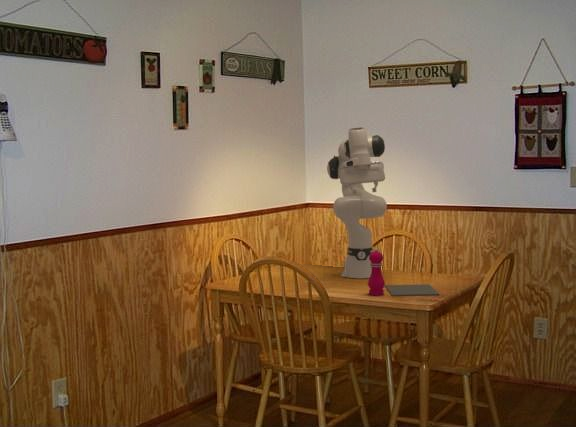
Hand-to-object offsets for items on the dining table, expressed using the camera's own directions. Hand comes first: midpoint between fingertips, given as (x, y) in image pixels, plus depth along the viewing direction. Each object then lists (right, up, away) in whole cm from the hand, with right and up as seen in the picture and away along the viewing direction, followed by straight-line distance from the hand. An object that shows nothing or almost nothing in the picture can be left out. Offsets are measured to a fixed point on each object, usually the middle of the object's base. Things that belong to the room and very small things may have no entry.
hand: (364, 193), depth 353 cm
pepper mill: (+4, -44, -16) cm, 47 cm away
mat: (+19, -43, -10) cm, 48 cm away
